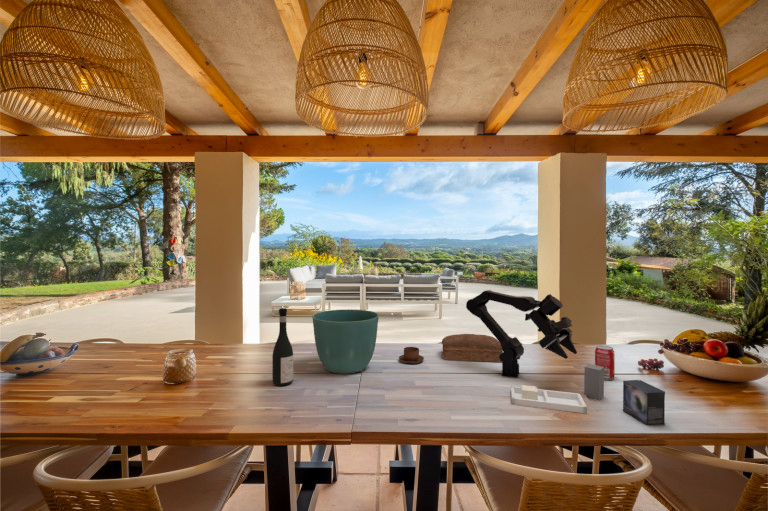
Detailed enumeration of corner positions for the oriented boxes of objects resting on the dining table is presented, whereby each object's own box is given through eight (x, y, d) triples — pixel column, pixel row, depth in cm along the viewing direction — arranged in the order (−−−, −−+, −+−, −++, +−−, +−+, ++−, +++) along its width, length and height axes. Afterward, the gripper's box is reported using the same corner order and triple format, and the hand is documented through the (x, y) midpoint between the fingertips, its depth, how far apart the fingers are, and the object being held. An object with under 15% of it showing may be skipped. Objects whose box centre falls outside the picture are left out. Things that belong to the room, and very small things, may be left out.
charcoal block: (584, 396, 136) (584, 366, 136) (588, 393, 139) (589, 364, 139) (599, 400, 132) (599, 370, 132) (603, 396, 136) (604, 367, 136)
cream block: (522, 401, 129) (522, 390, 129) (521, 396, 134) (521, 385, 134) (537, 403, 127) (537, 391, 127) (536, 397, 132) (536, 386, 132)
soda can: (617, 381, 152) (617, 349, 152) (598, 380, 153) (598, 348, 153) (610, 375, 159) (610, 345, 159) (592, 374, 160) (592, 344, 160)
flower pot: (363, 382, 149) (364, 323, 149) (299, 374, 159) (299, 318, 158) (387, 361, 178) (387, 311, 177) (331, 355, 187) (331, 308, 187)
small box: (621, 410, 124) (621, 379, 124) (639, 410, 125) (639, 379, 125) (646, 425, 114) (646, 391, 114) (665, 425, 114) (666, 391, 114)
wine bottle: (297, 381, 150) (297, 308, 150) (284, 388, 143) (284, 310, 143) (281, 378, 154) (281, 306, 153) (268, 384, 146) (268, 309, 146)
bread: (504, 363, 176) (504, 339, 176) (442, 360, 180) (442, 337, 180) (498, 353, 193) (498, 331, 193) (441, 351, 197) (441, 330, 196)
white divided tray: (511, 407, 127) (511, 398, 127) (511, 394, 138) (511, 386, 138) (586, 416, 120) (587, 407, 120) (579, 402, 131) (579, 393, 131)
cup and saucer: (394, 359, 182) (394, 347, 181) (416, 356, 186) (416, 344, 186) (405, 366, 171) (405, 353, 170) (428, 363, 175) (428, 350, 175)
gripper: (547, 313, 139) (579, 348, 131) (567, 307, 151) (596, 339, 144) (527, 330, 145) (555, 365, 137) (547, 324, 157) (574, 355, 149)
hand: (571, 355), depth 141 cm, fingers open, 9 cm apart
